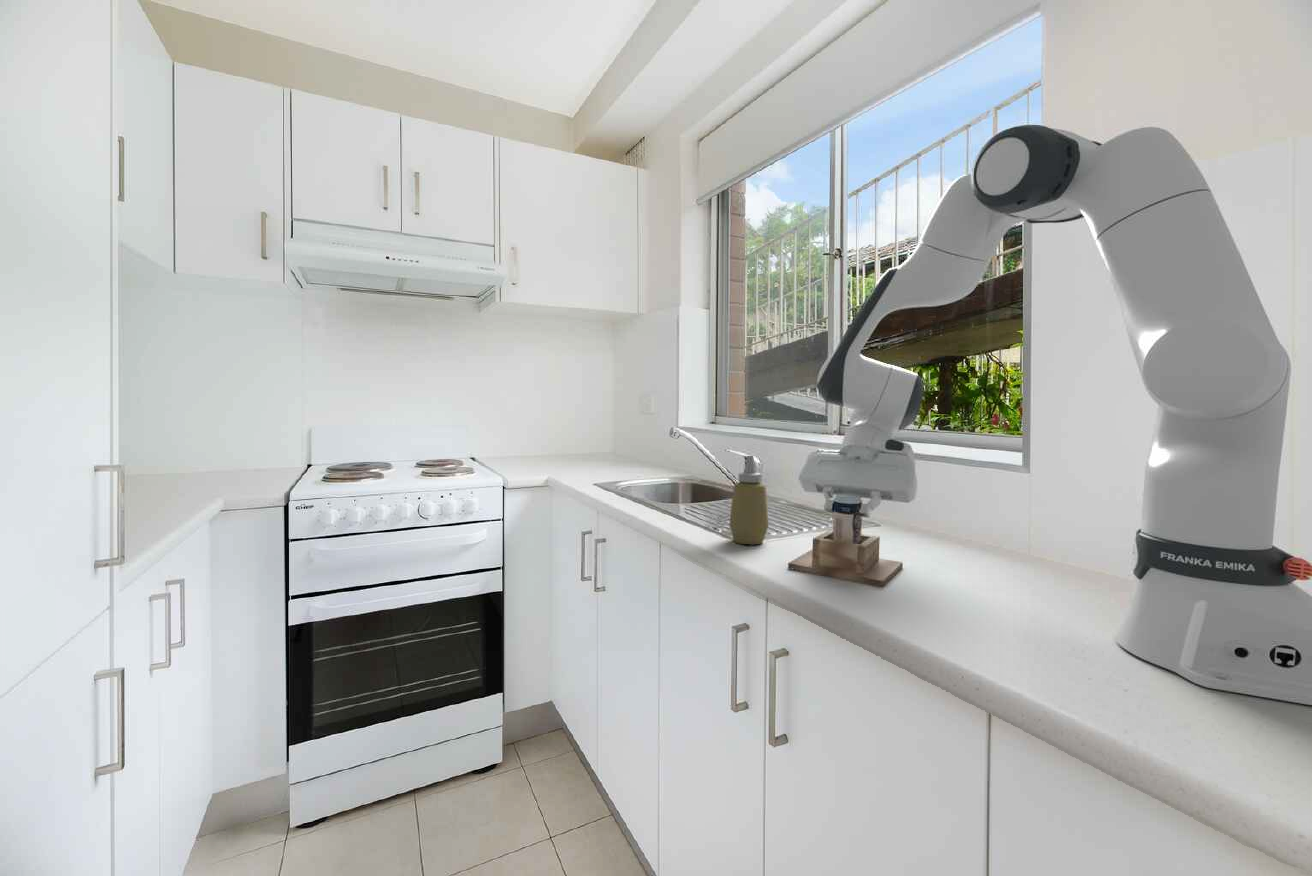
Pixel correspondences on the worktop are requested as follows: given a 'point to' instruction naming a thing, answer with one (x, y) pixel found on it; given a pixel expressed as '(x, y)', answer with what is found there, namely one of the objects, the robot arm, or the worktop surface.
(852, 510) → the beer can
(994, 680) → the worktop surface
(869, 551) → the can caddy
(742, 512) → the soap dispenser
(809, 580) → the worktop surface
